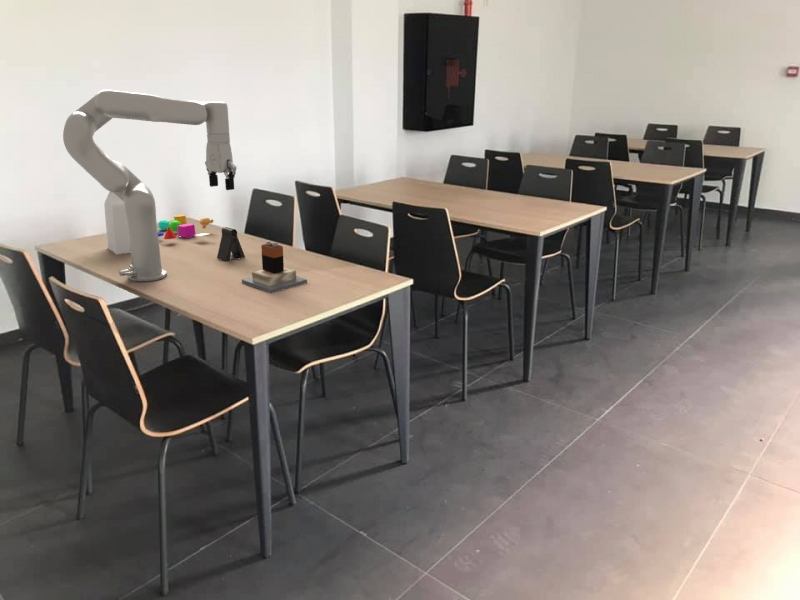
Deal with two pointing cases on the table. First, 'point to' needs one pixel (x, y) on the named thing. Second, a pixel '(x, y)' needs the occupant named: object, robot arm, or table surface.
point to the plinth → (273, 276)
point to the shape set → (181, 227)
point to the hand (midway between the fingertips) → (221, 187)
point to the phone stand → (229, 245)
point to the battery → (272, 257)
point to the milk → (116, 224)
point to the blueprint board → (277, 286)
